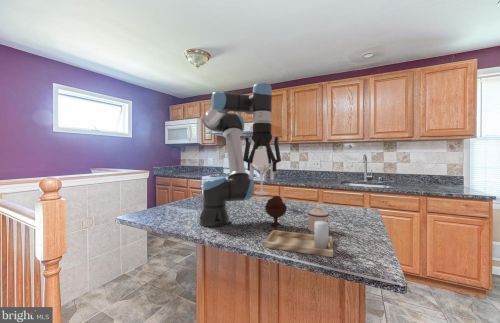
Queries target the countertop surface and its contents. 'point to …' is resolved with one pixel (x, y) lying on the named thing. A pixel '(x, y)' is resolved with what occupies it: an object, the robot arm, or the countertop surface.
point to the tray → (296, 243)
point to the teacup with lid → (316, 217)
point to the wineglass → (261, 165)
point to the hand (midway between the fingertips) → (261, 179)
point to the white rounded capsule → (321, 234)
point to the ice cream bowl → (275, 209)
